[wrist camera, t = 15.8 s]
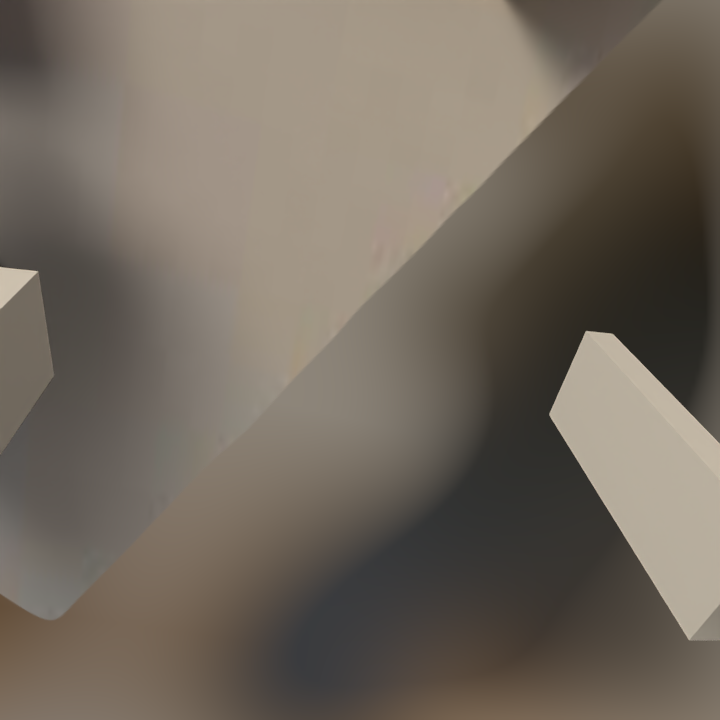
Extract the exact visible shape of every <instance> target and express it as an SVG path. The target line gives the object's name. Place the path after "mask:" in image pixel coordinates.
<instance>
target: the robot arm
mask: <svg viewBox="0 0 720 720" xmlns="http://www.w3.org/2000/svg"><path fill="white" fill-rule="evenodd" d="M53 377H54V370H53V363H52V357H51V350H50V344H49V337H48V331H47V324H46V318H45V311H44V305H43V298H42V291H41V285H40V278H39V272H38V271H31V270H22V269H12V268H3V267H0V455H1V454H2V452H3V451H4V449H5V448H6V446H7V445H8V443H9V442H10V440H11V439H12V437H13V436H14V434H15V433H16V431H17V430H18V429H19V427H20V426H21V424H22V423H23V421H24V420H25V418H26V417H27V415H28V414H29V412H30V411H31V409H32V408H33V406H34V405H35V403H36V402H37V400H38V399H39V397H40V396H41V394H42V393H43V391H44V390H45V388H46V387H47V385H48V384H49V382H50V381H51V379H52V378H53ZM549 415H550V417H551V419H552V420H553V422H554V423H555V425H556V427H557V428H558V430H559V431H560V433H561V435H562V436H563V438H564V440H565V441H566V443H567V444H568V446H569V447H570V449H571V451H572V452H573V454H574V456H575V457H576V459H577V460H578V462H579V463H580V465H581V467H582V468H583V470H584V472H585V473H586V475H587V476H588V478H589V480H590V481H591V483H592V485H593V486H594V488H595V489H596V491H597V492H598V494H599V496H600V497H601V499H602V501H603V502H604V504H605V506H606V507H607V509H608V510H609V512H610V514H611V515H612V517H613V518H614V520H615V521H616V523H617V525H618V526H619V528H620V530H621V531H622V533H623V535H624V536H625V538H626V539H627V541H628V542H629V544H630V546H631V547H632V549H633V551H634V552H635V554H636V555H637V557H638V558H639V560H640V562H641V563H642V565H643V567H644V568H645V570H646V571H647V573H648V575H649V576H650V578H651V579H652V581H653V583H654V584H655V586H656V587H657V589H658V591H659V592H660V594H661V596H662V597H663V599H664V601H665V602H666V604H667V605H668V607H669V608H670V610H671V612H672V613H673V615H674V617H675V618H676V620H677V621H678V623H679V625H680V626H681V628H682V630H683V631H684V633H685V634H686V636H687V638H688V639H689V640H720V444H719V443H718V442H717V441H716V440H715V439H714V437H712V435H711V434H710V433H709V432H708V431H707V430H706V429H705V428H704V427H703V426H702V425H701V424H700V423H699V422H698V421H697V420H696V419H695V418H694V417H693V416H692V415H691V414H690V413H689V412H688V411H687V410H686V409H685V408H684V407H683V406H682V405H681V404H680V403H679V402H678V401H677V399H676V398H675V397H673V395H672V394H671V393H670V392H669V391H668V390H667V389H666V388H665V387H664V386H663V385H662V384H661V383H660V382H659V381H658V380H657V379H656V378H655V377H654V376H653V375H652V374H651V373H650V372H649V371H648V370H647V369H646V368H645V367H644V366H643V365H642V364H641V363H640V362H639V361H638V360H637V359H636V358H635V356H634V355H633V354H632V353H631V352H630V351H629V350H628V349H627V348H626V347H625V346H624V345H623V344H622V343H621V342H620V341H619V340H618V339H617V338H616V337H615V336H614V335H613V334H608V333H598V332H589V331H586V332H585V335H584V337H583V339H582V342H581V344H580V346H579V348H578V351H577V353H576V355H575V357H574V360H573V362H572V364H571V367H570V369H569V371H568V373H567V375H566V378H565V380H564V382H563V385H562V387H561V389H560V391H559V394H558V396H557V398H556V401H555V403H554V405H553V407H552V409H551V412H550V414H549Z"/></svg>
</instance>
